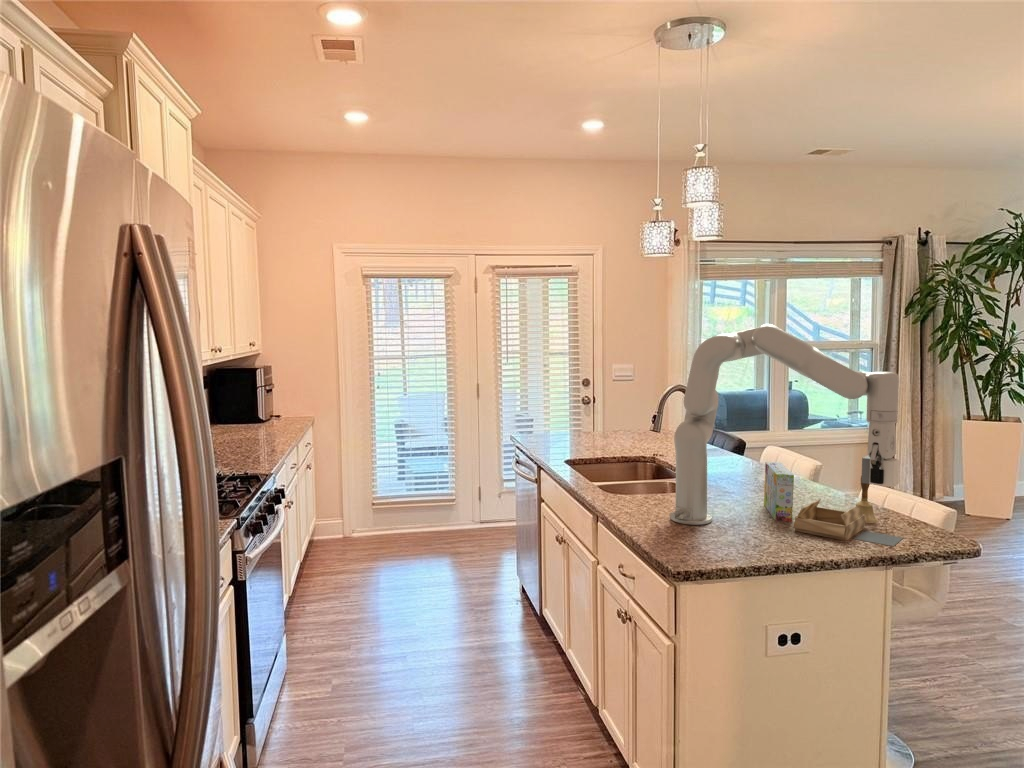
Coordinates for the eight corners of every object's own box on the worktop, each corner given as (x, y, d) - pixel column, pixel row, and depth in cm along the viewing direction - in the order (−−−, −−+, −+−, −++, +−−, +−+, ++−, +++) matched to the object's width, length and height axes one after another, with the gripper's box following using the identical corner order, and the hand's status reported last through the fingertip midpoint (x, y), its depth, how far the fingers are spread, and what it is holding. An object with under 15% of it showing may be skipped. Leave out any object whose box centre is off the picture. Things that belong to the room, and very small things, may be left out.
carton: (843, 543, 182) (844, 517, 182) (792, 533, 192) (792, 509, 191) (866, 528, 196) (866, 504, 196) (817, 519, 206) (817, 496, 205)
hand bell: (849, 515, 210) (851, 466, 209) (879, 519, 206) (881, 468, 204) (847, 522, 203) (849, 471, 202) (878, 526, 198) (880, 473, 197)
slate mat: (893, 548, 178) (893, 546, 178) (853, 540, 185) (853, 538, 185) (903, 539, 185) (903, 537, 185) (864, 532, 192) (864, 530, 192)
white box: (893, 487, 179) (894, 461, 179) (861, 482, 185) (862, 457, 184) (898, 484, 183) (899, 458, 182) (867, 479, 188) (867, 455, 188)
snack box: (794, 523, 203) (795, 474, 202) (774, 522, 204) (775, 474, 203) (780, 505, 224) (781, 461, 222) (762, 505, 225) (763, 461, 224)
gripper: (888, 420, 174) (885, 489, 175) (905, 414, 186) (903, 478, 187) (857, 418, 179) (855, 484, 180) (876, 412, 191) (874, 474, 193)
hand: (879, 480), depth 184 cm, fingers closed on white box, 5 cm apart
